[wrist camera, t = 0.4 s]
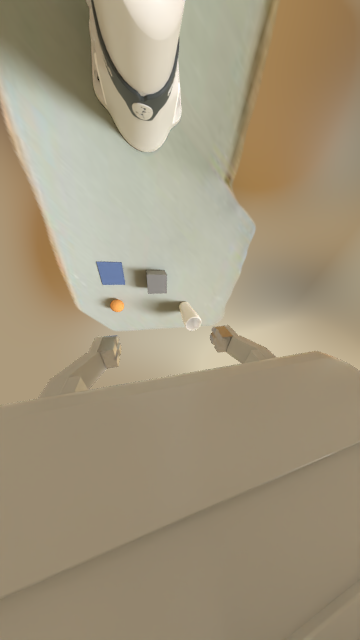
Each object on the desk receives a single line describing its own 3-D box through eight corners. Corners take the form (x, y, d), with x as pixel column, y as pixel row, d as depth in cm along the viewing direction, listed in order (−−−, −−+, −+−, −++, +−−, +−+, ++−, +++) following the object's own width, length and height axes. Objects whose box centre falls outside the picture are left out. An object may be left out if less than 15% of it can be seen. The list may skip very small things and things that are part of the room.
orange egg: (110, 297, 52) (107, 303, 48) (123, 297, 53) (121, 302, 49) (113, 308, 55) (110, 314, 51) (125, 307, 56) (124, 313, 52)
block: (146, 270, 49) (146, 274, 44) (164, 270, 51) (166, 274, 46) (147, 287, 53) (148, 293, 48) (164, 287, 55) (166, 293, 50)
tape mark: (96, 261, 44) (96, 261, 44) (121, 262, 46) (121, 262, 46) (102, 284, 49) (102, 284, 48) (125, 284, 50) (125, 284, 50)
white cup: (189, 298, 60) (200, 314, 48) (191, 309, 64) (202, 328, 52) (175, 302, 60) (183, 319, 48) (178, 313, 64) (186, 332, 52)
